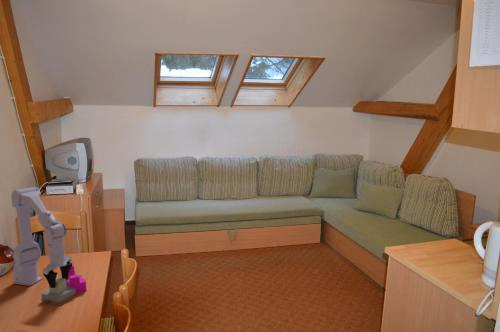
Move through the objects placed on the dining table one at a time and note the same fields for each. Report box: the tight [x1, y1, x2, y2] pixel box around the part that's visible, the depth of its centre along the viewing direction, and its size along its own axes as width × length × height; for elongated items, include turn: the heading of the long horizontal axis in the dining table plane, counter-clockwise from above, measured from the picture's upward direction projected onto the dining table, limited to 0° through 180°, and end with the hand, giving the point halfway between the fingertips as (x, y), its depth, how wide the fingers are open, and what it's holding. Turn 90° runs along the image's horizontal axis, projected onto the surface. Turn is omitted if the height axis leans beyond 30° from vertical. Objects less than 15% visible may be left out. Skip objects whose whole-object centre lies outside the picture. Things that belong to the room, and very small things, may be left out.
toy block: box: [66, 264, 87, 295], centre depth 178 cm, size 15×6×8 cm, turn 33°
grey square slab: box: [41, 293, 76, 306], centre depth 167 cm, size 9×9×2 cm
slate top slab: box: [41, 285, 77, 302], centre depth 167 cm, size 9×9×2 cm
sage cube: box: [49, 277, 67, 294], centre depth 166 cm, size 4×4×4 cm
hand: (59, 283), depth 166 cm, fingers open, 7 cm apart
